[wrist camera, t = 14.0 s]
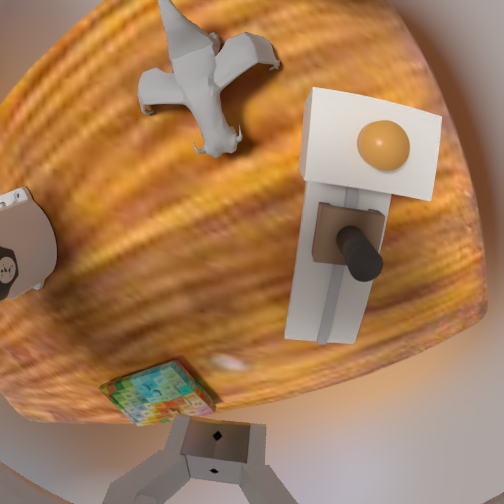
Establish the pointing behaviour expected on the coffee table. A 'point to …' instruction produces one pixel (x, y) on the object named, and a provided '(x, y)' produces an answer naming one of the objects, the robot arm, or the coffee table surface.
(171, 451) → the robot arm
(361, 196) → the rail base
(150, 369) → the puzzle game
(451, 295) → the coffee table surface
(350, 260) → the carriage
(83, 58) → the coffee table surface
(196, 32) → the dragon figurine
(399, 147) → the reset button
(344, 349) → the coffee table surface
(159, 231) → the coffee table surface
